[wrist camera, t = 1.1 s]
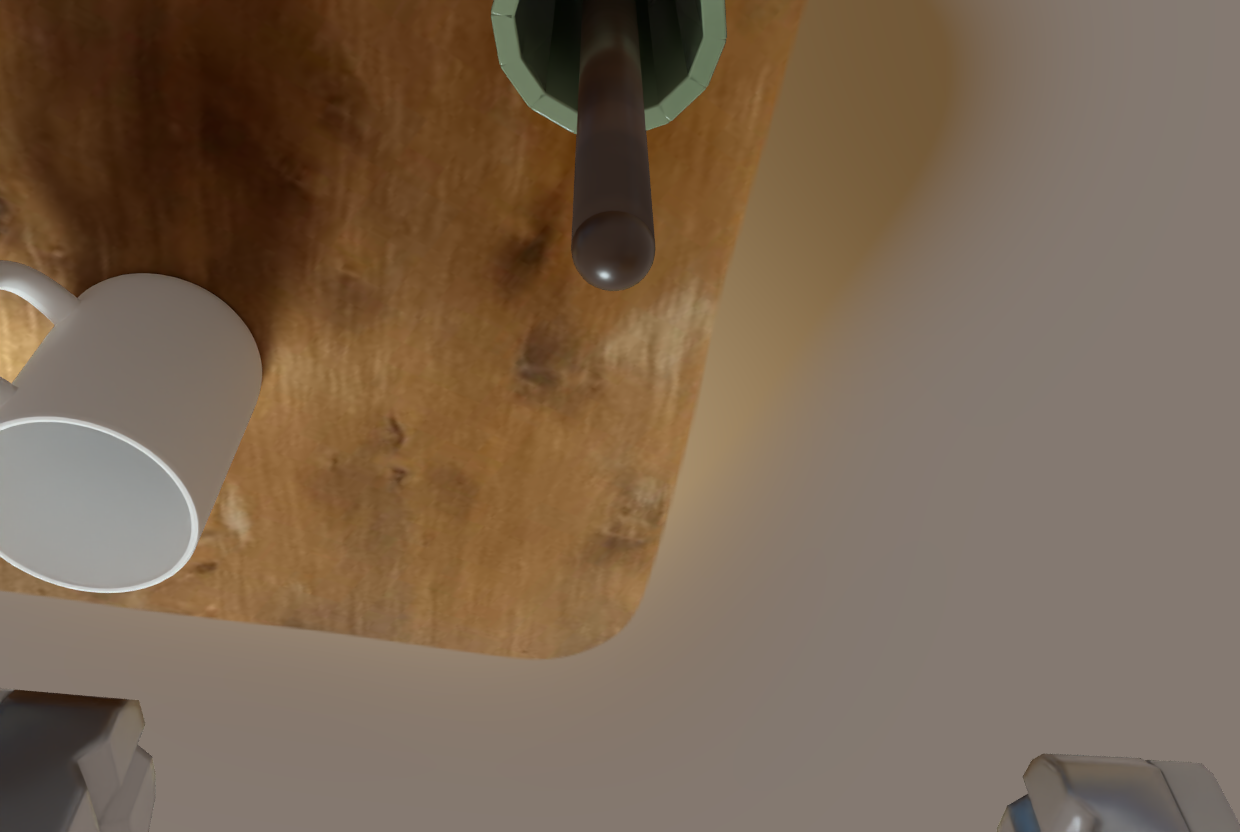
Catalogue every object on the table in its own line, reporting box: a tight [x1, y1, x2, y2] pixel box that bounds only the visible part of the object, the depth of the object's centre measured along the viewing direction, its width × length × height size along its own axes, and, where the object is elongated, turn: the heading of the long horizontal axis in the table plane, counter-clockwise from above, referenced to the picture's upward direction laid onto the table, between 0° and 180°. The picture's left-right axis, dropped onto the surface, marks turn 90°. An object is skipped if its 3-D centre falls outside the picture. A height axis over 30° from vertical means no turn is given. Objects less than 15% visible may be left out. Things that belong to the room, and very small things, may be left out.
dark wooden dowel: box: [571, 0, 655, 291], centre depth 28 cm, size 2×1×24 cm, turn 174°
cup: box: [0, 260, 262, 593], centre depth 43 cm, size 8×12×10 cm
